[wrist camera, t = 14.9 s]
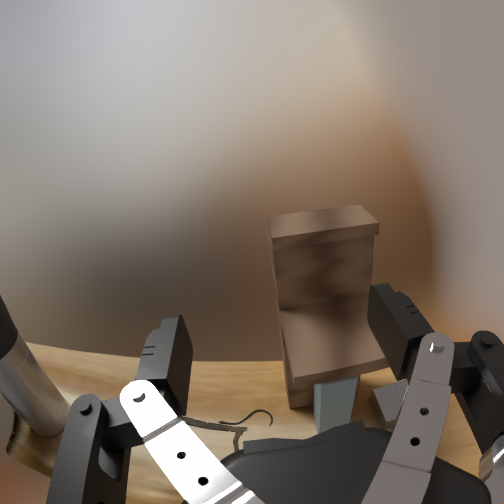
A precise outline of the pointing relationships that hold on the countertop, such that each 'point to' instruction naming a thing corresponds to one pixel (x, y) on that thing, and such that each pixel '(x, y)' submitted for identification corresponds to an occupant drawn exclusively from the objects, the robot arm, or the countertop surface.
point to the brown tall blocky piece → (324, 297)
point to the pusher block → (334, 403)
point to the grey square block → (388, 402)
